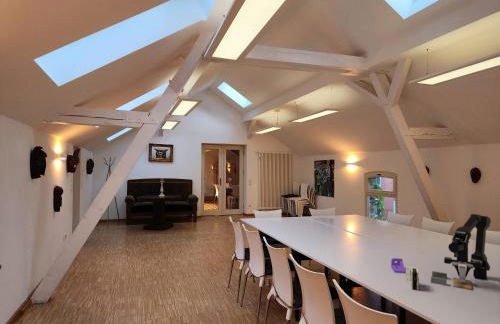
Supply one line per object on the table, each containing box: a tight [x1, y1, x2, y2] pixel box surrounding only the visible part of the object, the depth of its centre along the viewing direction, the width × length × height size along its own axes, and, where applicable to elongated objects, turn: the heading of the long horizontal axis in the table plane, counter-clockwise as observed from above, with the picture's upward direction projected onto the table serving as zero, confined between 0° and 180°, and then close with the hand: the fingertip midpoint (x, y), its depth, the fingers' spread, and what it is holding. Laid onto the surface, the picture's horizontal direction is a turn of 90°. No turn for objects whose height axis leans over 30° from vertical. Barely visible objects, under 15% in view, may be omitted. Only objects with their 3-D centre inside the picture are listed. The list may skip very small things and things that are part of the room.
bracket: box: [390, 257, 406, 275], centre depth 218 cm, size 12×7×7 cm, turn 166°
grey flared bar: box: [458, 265, 467, 283], centre depth 193 cm, size 3×8×8 cm, turn 148°
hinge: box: [405, 265, 420, 291], centre depth 189 cm, size 14×5×10 cm, turn 168°
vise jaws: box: [430, 270, 448, 286], centre depth 199 cm, size 8×16×3 cm, turn 148°
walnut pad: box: [452, 277, 473, 291], centre depth 193 cm, size 9×16×1 cm, turn 148°
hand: (462, 276), depth 193 cm, fingers closed on grey flared bar, 3 cm apart
